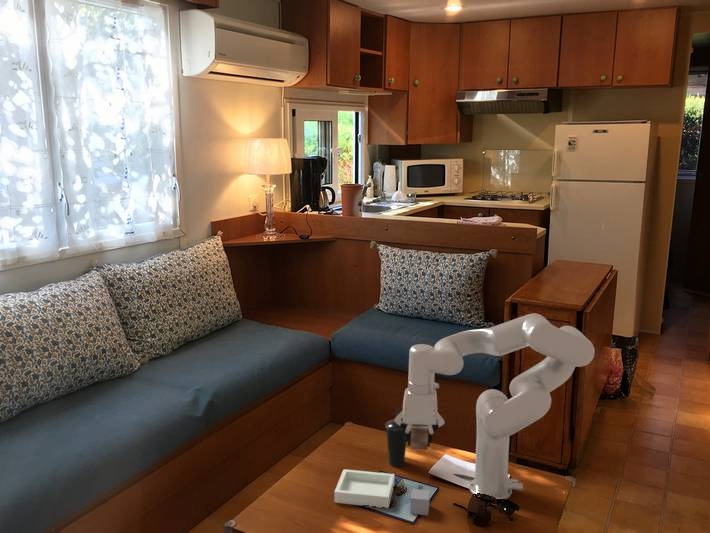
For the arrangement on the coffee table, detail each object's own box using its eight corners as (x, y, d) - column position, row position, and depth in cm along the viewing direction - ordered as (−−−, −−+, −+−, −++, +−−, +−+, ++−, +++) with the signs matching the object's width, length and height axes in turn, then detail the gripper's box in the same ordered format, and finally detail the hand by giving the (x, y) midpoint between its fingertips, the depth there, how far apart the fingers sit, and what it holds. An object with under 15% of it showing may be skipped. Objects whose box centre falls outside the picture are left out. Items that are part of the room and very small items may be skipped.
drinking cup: (406, 470, 212) (407, 412, 208) (383, 467, 214) (383, 410, 210) (409, 458, 220) (410, 402, 215) (386, 456, 221) (387, 400, 217)
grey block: (429, 506, 193) (429, 490, 192) (427, 515, 188) (428, 500, 187) (412, 504, 194) (412, 488, 193) (410, 513, 189) (410, 498, 188)
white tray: (394, 484, 204) (394, 474, 203) (388, 508, 192) (388, 497, 191) (343, 479, 207) (343, 469, 206) (334, 502, 195) (334, 491, 194)
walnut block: (426, 441, 199) (427, 426, 198) (427, 449, 195) (428, 433, 193) (410, 440, 200) (410, 425, 199) (410, 448, 195) (411, 433, 194)
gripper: (449, 383, 196) (446, 439, 200) (391, 380, 197) (389, 437, 201) (451, 393, 189) (448, 451, 193) (391, 390, 190) (389, 449, 194)
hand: (418, 443), depth 197 cm, fingers closed on walnut block, 5 cm apart
